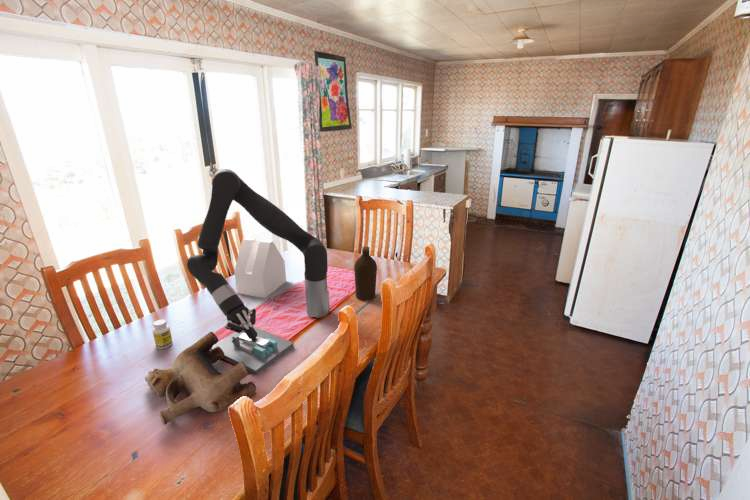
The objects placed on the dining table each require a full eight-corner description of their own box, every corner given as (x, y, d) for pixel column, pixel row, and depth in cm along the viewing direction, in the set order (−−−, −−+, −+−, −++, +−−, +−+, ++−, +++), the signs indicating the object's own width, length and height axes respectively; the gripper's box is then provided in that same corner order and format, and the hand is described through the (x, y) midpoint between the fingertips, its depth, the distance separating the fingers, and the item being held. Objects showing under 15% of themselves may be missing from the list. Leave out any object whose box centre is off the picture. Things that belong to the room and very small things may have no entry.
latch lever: (244, 332, 133) (269, 340, 127) (245, 335, 134) (270, 343, 127) (237, 336, 131) (262, 345, 124) (238, 339, 131) (263, 348, 125)
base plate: (248, 328, 144) (247, 316, 142) (293, 347, 133) (292, 334, 131) (209, 351, 130) (207, 339, 128) (256, 375, 118) (254, 361, 117)
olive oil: (363, 303, 164) (363, 253, 155) (350, 295, 172) (349, 246, 163) (381, 297, 170) (382, 248, 161) (367, 289, 178) (367, 242, 169)
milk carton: (264, 298, 168) (259, 248, 159) (237, 293, 172) (230, 244, 163) (286, 281, 185) (282, 235, 176) (260, 277, 189) (255, 232, 180)
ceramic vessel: (208, 320, 123) (126, 362, 107) (256, 368, 104) (166, 426, 89) (216, 348, 129) (140, 390, 113) (263, 397, 111) (180, 456, 95)
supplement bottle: (165, 350, 130) (160, 327, 127) (152, 348, 131) (147, 325, 128) (176, 341, 135) (171, 319, 132) (163, 339, 136) (158, 317, 133)
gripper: (215, 302, 122) (244, 343, 121) (246, 287, 133) (273, 325, 131) (207, 312, 127) (235, 351, 125) (238, 297, 137) (264, 333, 136)
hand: (254, 337), depth 128 cm, fingers closed
